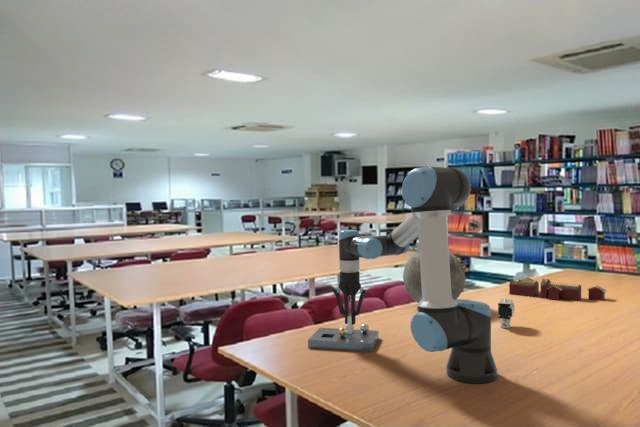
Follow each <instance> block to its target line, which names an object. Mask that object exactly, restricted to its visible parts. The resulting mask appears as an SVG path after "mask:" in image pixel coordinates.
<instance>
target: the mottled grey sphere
mask: <svg viewBox="0 0 640 427" xmlns="http://www.w3.org/2000/svg"><path fill="white" fill-rule="evenodd" d="M449 262H450V277H451V292H452V299H453V300H454V299H459V297H460V296H461V294H462V292H463V290H464V287H465V284H466V283H465V282H466V274H465V269H464V267H463V264H462V262H461V261H460V259H459V258H458V257H457V256H456V255H455V254H453V252H451V251H449ZM402 274H403V275H402V278H403V279H402V280H403V284H404V288H405V290H406V292H407V294H408V295H409V296H410V298H412V300H413V301H415V302H416V303H417V304H418V303H419V302H420V301H421V300H422V286H421V271H420V255H419V250H418V251H416V252H414V253H413V254H412V255H411V256H410V257H409V259H408V260H407V261H406V263H405V265H404V269H403V273H402Z"/></svg>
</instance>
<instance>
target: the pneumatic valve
mask: <svg viewBox="0 0 640 427" xmlns="http://www.w3.org/2000/svg"><path fill="white" fill-rule="evenodd" d="M497 306H498V307H497V309H498V310H497V313H498V314H497V316H498V317H497V318H498V319H501V320H500V322H501V323H500V324H501V326H500V328H502V329H503V328H504V329H507V330H509V329H510V328H511V319H512V318H513V315H514V313H515V302H514V300H512V299H507V298H504V299H503V298H501V299H500V300H499V302H498V303H497Z"/></svg>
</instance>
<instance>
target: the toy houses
mask: <svg viewBox="0 0 640 427" xmlns="http://www.w3.org/2000/svg"><path fill="white" fill-rule="evenodd" d="M539 286H540V288H539ZM539 289H540V290H539ZM586 291H588V300H590V301H591V300H593V301H599V302H603V301H605V299H606V293H607V291H608V290H607V289H605V288H603V287H602V286H599V285H596V286H592V287H590V288H589V287H588V288H587V289H586ZM508 294H509V296H510V295H511V296H520V297H521V296H522V297H528V296H529V297H530V298H536V297H537V296H539V294H540V299H544V300H546V299H548V300H549V301H557V302H558V301H561V299H562V300H564V301H570V300H572V302H579V301H580V300H581V299H582V285H581V284H574V283H565V282H562V283H560V282H558V283H555V282H554V281H551V280H550V279H549V278H542V280H541V282H540V283H539V281H537V280H535V279H532V278H530V277H529V276H528V277H525V278H522V279H520V278H519V279H518V278H517V279H516V278H514V279H513V278H511V279H510V281H509V293H508Z"/></svg>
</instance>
